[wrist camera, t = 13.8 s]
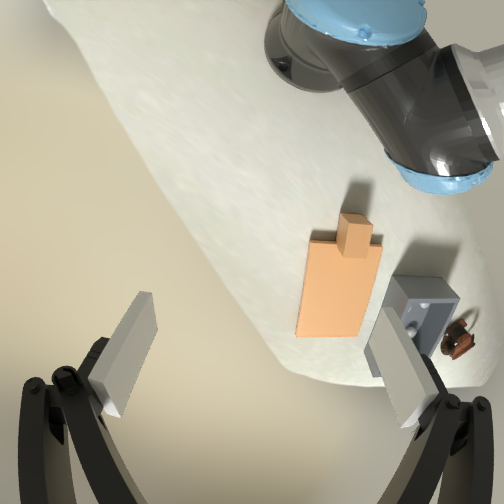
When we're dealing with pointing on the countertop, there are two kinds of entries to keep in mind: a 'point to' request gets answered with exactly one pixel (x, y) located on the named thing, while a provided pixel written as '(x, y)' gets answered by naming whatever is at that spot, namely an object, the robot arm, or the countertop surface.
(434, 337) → the tub
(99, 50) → the countertop surface
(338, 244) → the lid
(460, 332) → the brown jagged ring
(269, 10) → the countertop surface
